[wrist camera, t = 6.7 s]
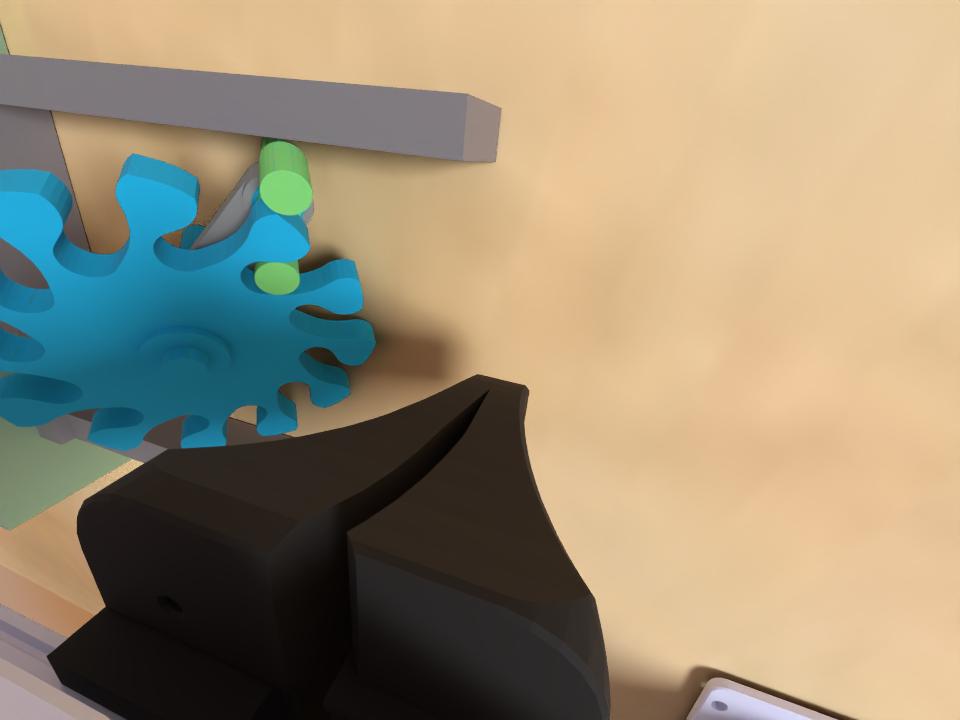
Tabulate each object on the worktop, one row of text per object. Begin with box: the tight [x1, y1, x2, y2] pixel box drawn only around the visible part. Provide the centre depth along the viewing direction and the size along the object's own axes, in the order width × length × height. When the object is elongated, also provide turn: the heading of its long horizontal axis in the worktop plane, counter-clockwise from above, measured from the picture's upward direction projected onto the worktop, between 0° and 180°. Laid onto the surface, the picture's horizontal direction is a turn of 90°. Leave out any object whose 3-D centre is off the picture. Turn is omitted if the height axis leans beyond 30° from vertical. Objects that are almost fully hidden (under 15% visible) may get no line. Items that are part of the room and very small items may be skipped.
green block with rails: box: [0, 27, 501, 531], centre depth 14 cm, size 20×29×6 cm
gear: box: [0, 137, 376, 451], centre depth 13 cm, size 11×6×10 cm
